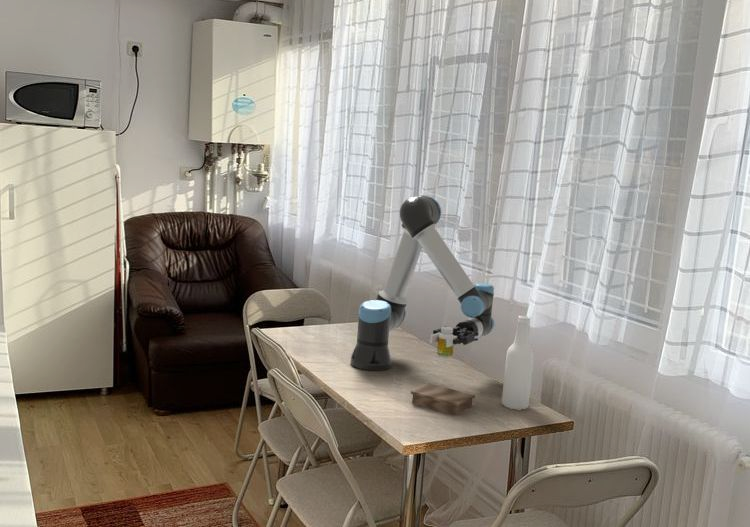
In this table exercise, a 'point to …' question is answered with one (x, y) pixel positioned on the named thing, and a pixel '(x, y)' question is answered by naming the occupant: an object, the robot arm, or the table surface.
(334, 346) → the table surface
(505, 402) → the alcohol
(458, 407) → the stand
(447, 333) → the supplement bottle
